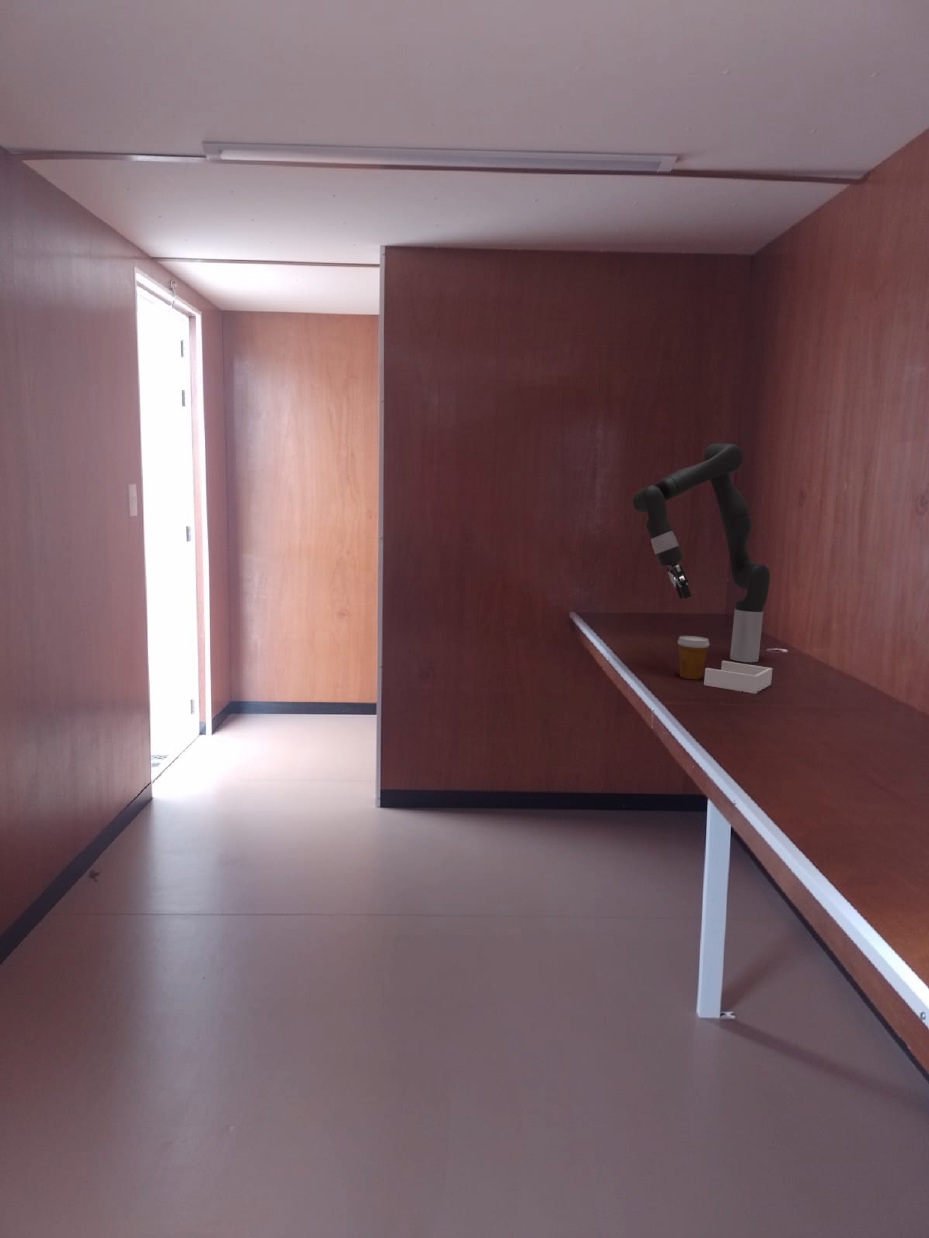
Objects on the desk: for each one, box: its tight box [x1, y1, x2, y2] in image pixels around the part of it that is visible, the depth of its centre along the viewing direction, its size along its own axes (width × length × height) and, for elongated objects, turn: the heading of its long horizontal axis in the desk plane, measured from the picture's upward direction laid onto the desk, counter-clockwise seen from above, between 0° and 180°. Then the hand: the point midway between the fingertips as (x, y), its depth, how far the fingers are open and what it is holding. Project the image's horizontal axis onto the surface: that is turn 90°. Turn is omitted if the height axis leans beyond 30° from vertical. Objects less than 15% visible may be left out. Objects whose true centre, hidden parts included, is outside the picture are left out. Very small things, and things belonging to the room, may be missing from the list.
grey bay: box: [703, 660, 773, 695], centre depth 264 cm, size 16×15×5 cm
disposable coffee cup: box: [677, 635, 710, 680], centre depth 272 cm, size 10×10×12 cm
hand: (685, 597), depth 276 cm, fingers open, 8 cm apart
